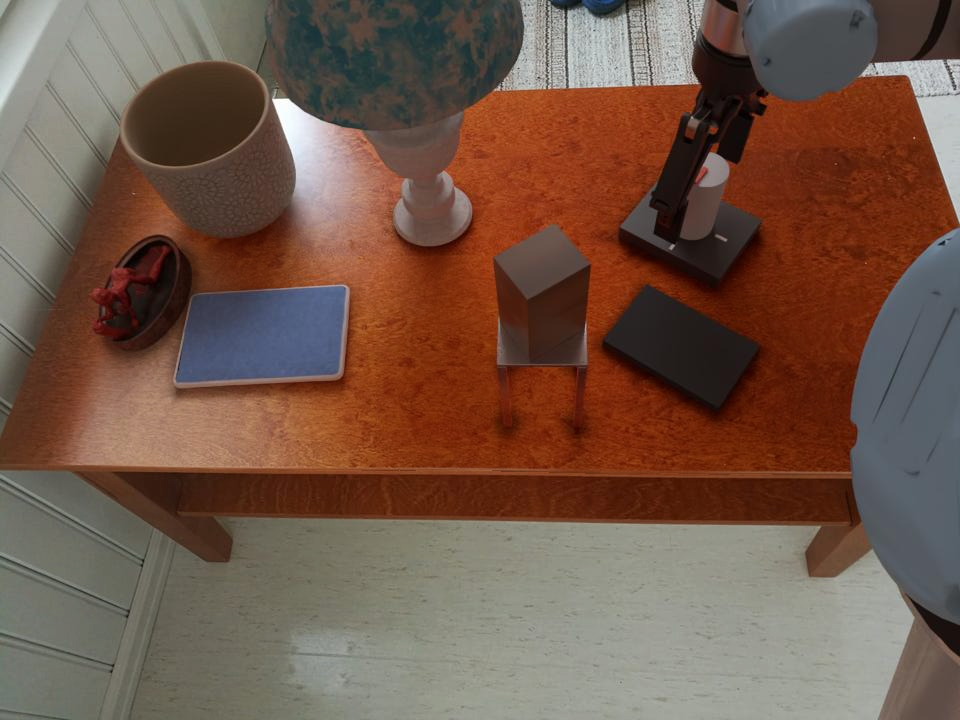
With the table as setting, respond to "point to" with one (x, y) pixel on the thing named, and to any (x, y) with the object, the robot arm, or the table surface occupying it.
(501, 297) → the block
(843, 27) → the robot arm
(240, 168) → the planter
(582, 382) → the square metal stool
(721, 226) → the panel
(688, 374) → the mat
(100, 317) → the figurine
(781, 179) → the table surface
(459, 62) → the table lamp
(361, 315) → the table surface
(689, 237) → the oven dial
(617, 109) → the table surface
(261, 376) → the tablet
